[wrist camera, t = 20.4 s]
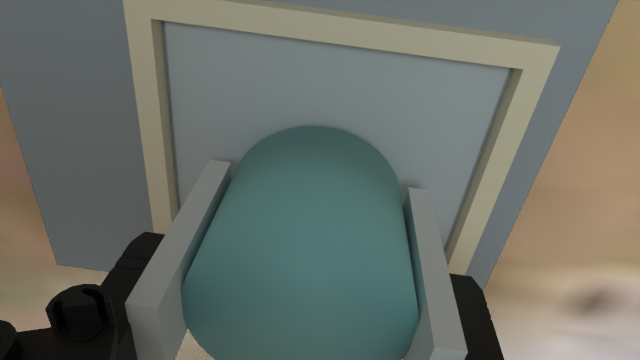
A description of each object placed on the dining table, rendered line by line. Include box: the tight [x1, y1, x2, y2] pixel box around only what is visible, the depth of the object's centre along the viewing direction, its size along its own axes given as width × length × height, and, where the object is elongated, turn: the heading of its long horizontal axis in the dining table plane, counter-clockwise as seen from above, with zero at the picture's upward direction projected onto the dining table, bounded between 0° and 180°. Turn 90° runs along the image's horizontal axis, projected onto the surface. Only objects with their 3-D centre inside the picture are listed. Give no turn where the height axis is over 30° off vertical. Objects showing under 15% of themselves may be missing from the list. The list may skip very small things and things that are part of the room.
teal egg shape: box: [181, 126, 419, 360], centre depth 14 cm, size 6×6×6 cm
